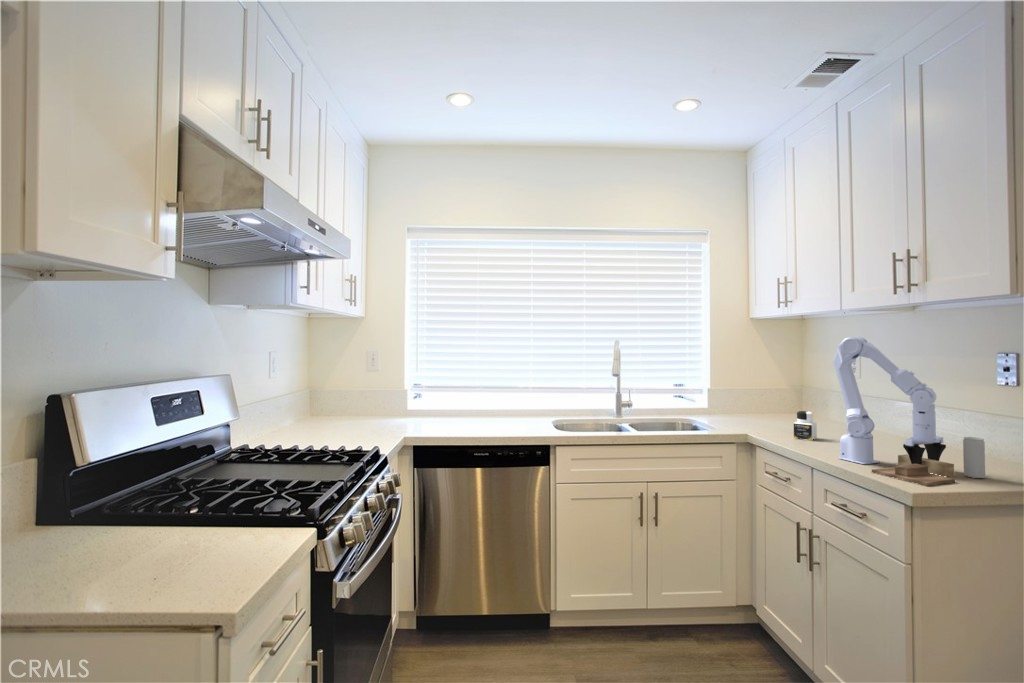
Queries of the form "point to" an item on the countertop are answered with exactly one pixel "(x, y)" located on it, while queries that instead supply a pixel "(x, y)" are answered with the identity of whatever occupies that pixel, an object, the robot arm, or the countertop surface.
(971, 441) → the beverage can
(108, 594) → the countertop surface
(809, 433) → the medicine bottle
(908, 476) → the fulcrum
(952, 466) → the beam
